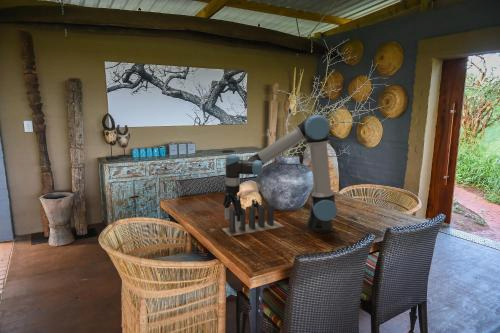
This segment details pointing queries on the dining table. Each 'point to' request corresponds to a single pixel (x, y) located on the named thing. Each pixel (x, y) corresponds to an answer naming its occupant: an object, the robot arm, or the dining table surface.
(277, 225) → the domino board
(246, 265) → the dining table surface
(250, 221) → the domino
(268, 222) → the domino
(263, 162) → the robot arm
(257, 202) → the door stopper
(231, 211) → the domino
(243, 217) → the domino
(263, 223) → the domino
